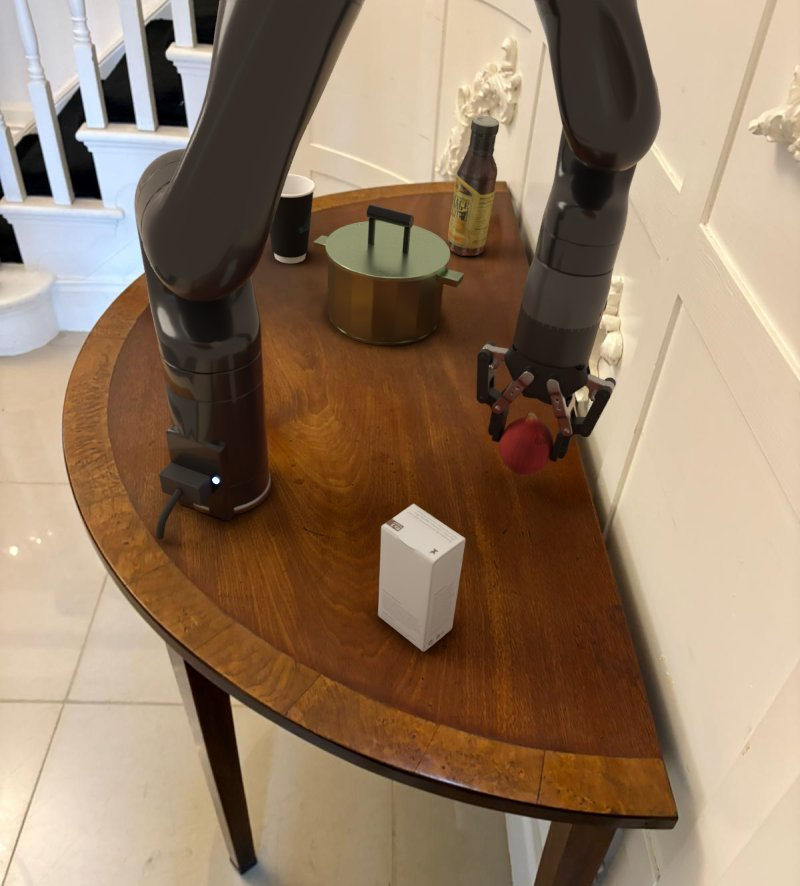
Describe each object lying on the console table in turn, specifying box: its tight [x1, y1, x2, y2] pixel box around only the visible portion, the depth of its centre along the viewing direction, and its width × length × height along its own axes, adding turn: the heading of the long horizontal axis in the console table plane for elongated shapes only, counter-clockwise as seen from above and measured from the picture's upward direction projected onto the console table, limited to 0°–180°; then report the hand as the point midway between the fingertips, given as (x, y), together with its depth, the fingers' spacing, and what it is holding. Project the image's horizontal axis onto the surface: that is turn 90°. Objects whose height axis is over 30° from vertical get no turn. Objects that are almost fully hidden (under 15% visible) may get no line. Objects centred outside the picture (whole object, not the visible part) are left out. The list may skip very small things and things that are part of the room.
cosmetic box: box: [377, 503, 466, 652], centre depth 68 cm, size 6×4×12 cm
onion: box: [498, 411, 555, 476], centre depth 84 cm, size 6×6×8 cm
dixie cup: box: [269, 173, 317, 264], centre depth 118 cm, size 8×8×11 cm
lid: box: [324, 203, 451, 282], centre depth 103 cm, size 17×17×6 cm
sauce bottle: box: [447, 115, 500, 257], centre depth 121 cm, size 7×6×20 cm
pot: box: [313, 234, 465, 347], centre depth 108 cm, size 16×21×10 cm
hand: (526, 447), depth 84 cm, fingers closed on onion, 6 cm apart
